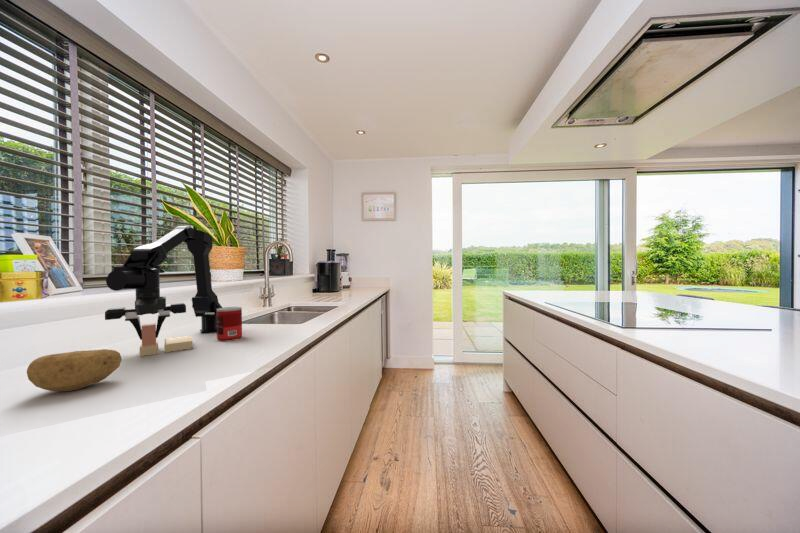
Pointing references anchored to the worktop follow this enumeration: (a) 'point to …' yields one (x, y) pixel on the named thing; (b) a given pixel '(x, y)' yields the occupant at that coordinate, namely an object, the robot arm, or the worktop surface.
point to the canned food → (229, 323)
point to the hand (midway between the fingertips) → (149, 338)
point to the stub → (149, 340)
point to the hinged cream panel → (178, 343)
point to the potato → (73, 369)
